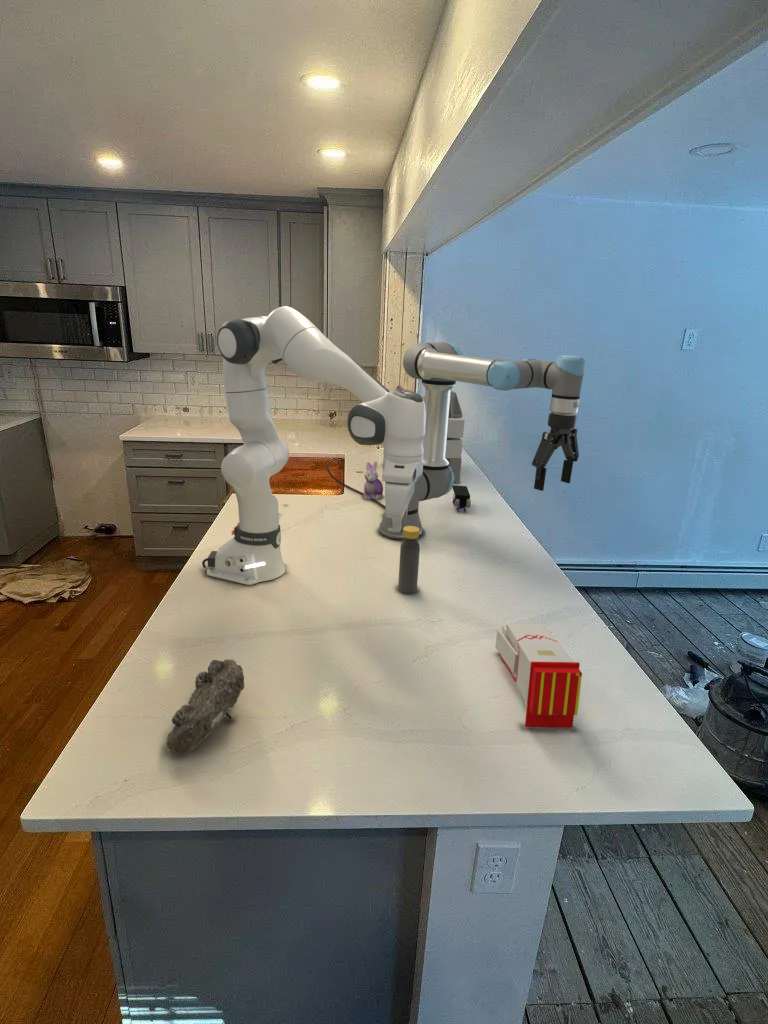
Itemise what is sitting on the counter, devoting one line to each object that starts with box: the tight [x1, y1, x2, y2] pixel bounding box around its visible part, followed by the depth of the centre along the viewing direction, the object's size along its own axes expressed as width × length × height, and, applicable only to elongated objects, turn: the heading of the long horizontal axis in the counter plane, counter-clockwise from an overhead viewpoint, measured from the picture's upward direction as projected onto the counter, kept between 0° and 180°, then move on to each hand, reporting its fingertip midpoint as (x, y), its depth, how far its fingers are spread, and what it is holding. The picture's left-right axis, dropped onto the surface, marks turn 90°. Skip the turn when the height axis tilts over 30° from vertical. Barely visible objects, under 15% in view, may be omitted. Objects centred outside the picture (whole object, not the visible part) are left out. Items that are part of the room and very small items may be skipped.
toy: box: [494, 623, 583, 729], centre depth 120 cm, size 12×13×30 cm
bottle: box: [397, 538, 421, 594], centre depth 158 cm, size 5×5×18 cm
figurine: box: [362, 460, 384, 501], centre depth 235 cm, size 9×10×15 cm
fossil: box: [166, 658, 245, 754], centre depth 106 cm, size 22×10×15 cm
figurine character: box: [451, 484, 472, 513], centre depth 228 cm, size 7×8×15 cm
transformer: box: [395, 384, 465, 484], centre depth 268 cm, size 34×33×41 cm
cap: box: [403, 526, 420, 539], centre depth 155 cm, size 4×4×2 cm
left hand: (400, 523), depth 130 cm, fingers open, 8 cm apart
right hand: (552, 485), depth 166 cm, fingers open, 13 cm apart
